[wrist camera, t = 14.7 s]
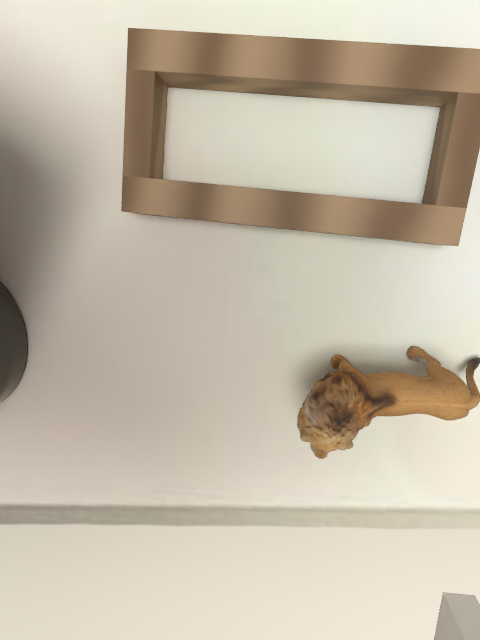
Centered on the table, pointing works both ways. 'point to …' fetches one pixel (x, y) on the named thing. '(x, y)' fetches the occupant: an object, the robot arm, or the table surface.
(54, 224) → the table surface
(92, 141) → the table surface
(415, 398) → the lion figurine
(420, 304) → the table surface
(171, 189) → the slot holder
